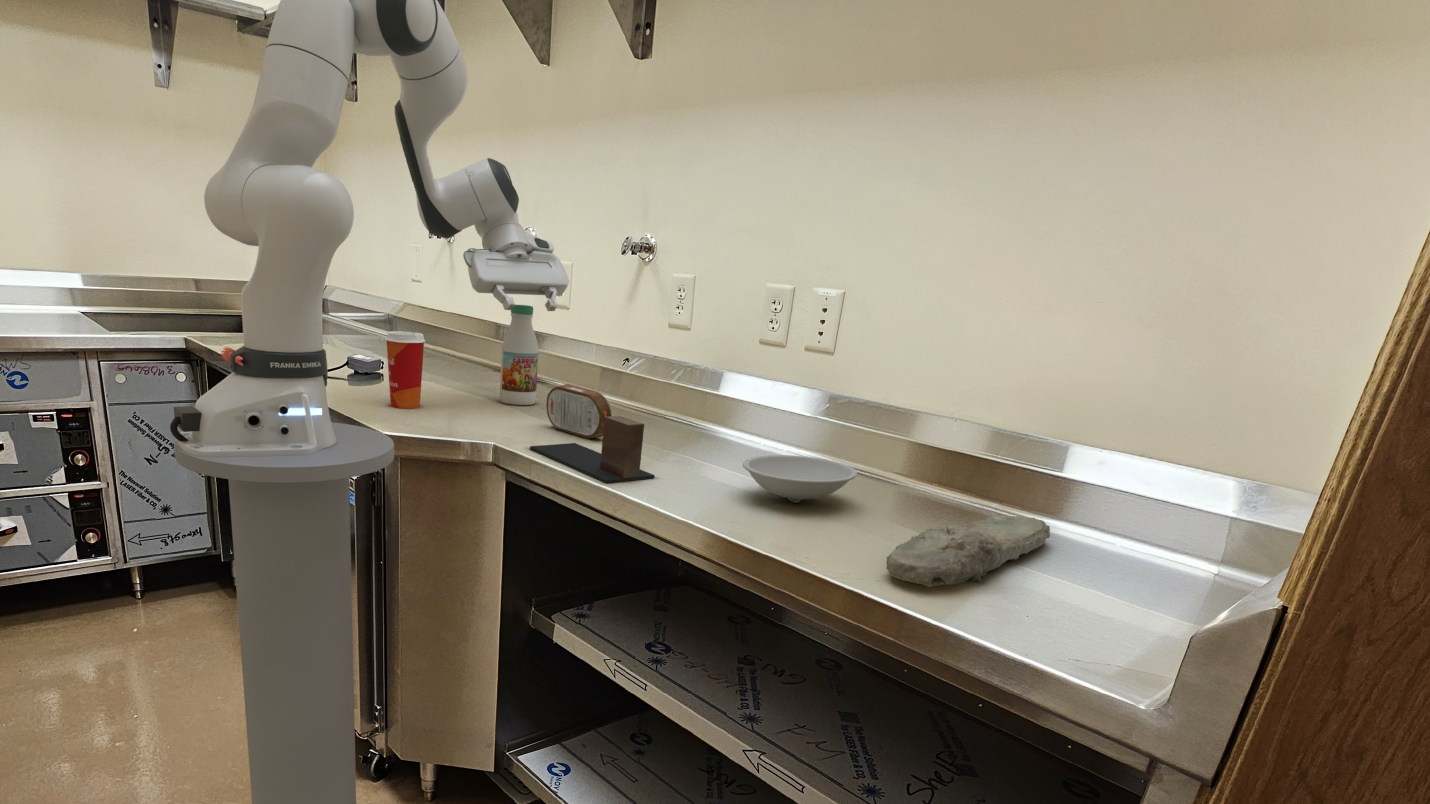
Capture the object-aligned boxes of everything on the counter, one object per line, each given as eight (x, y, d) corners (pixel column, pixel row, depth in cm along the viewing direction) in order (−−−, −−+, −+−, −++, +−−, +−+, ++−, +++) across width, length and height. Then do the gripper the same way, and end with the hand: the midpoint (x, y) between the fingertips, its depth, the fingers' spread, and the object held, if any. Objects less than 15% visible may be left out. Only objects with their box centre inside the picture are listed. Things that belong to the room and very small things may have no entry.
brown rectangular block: (623, 478, 124) (628, 424, 121) (599, 468, 128) (604, 416, 126) (639, 476, 126) (644, 423, 123) (615, 466, 130) (620, 415, 127)
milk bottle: (492, 400, 179) (495, 303, 172) (519, 398, 184) (524, 303, 177) (515, 407, 174) (520, 307, 167) (543, 404, 179) (548, 307, 172)
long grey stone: (1065, 556, 110) (989, 539, 117) (1074, 517, 109) (997, 502, 116) (948, 600, 87) (861, 574, 94) (958, 551, 85) (869, 528, 92)
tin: (610, 441, 149) (615, 394, 146) (598, 443, 147) (602, 395, 144) (554, 425, 159) (557, 380, 156) (542, 426, 157) (544, 381, 154)
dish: (785, 521, 111) (791, 485, 110) (715, 492, 123) (720, 458, 121) (874, 509, 120) (881, 475, 119) (802, 483, 132) (807, 452, 130)
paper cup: (391, 400, 169) (390, 329, 165) (428, 404, 169) (429, 332, 164) (380, 407, 162) (379, 333, 157) (419, 411, 162) (420, 336, 157)
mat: (606, 483, 122) (606, 480, 122) (529, 449, 139) (529, 446, 139) (654, 478, 127) (654, 475, 127) (574, 445, 144) (574, 442, 144)
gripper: (466, 236, 156) (489, 295, 152) (558, 243, 167) (582, 299, 163) (455, 260, 161) (477, 318, 157) (545, 265, 172) (568, 320, 168)
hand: (531, 308), depth 160 cm, fingers open, 8 cm apart
